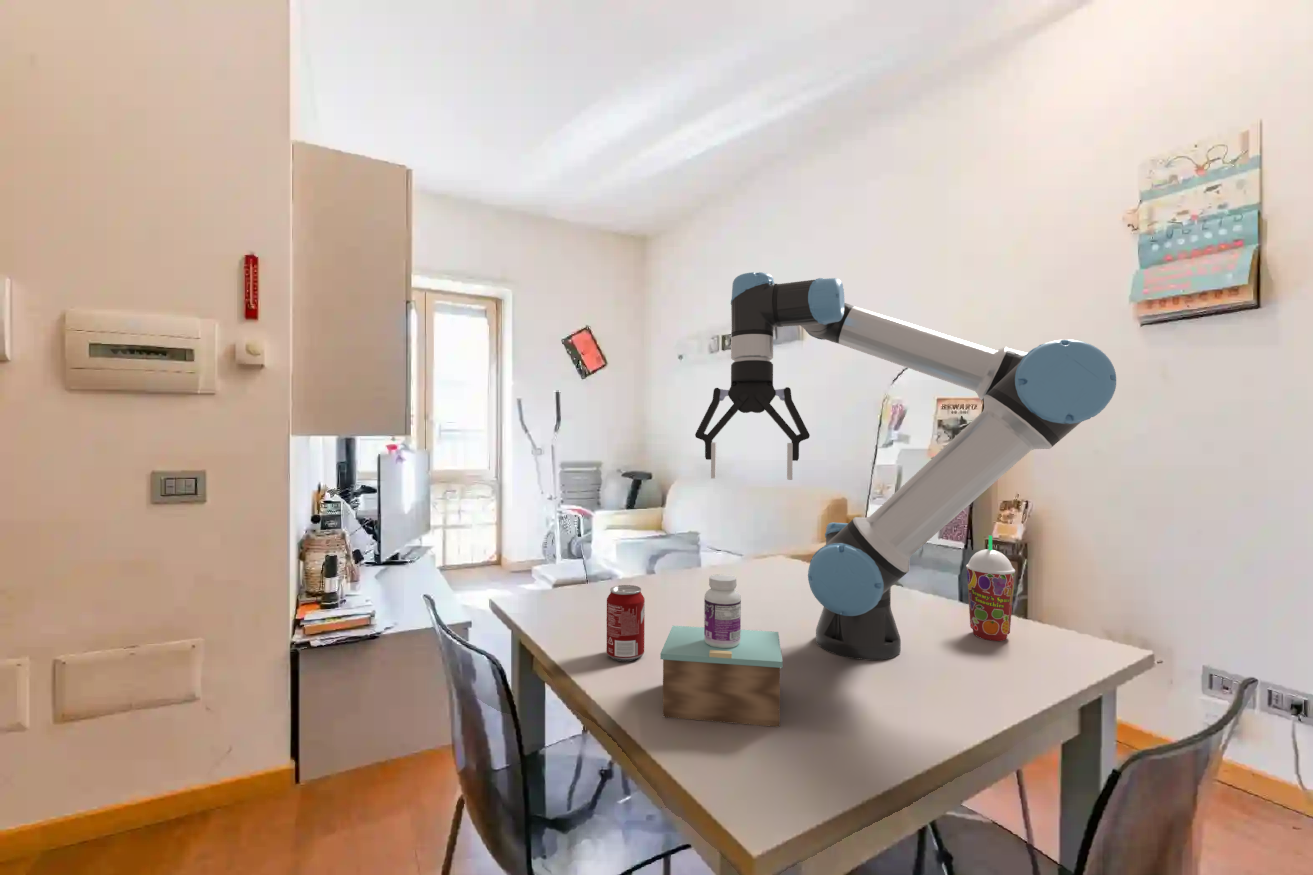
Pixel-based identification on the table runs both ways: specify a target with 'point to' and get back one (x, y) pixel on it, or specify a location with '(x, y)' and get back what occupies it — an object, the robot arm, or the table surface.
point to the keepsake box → (721, 692)
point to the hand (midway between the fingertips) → (751, 478)
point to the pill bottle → (722, 612)
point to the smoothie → (990, 593)
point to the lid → (750, 650)
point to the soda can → (625, 623)
